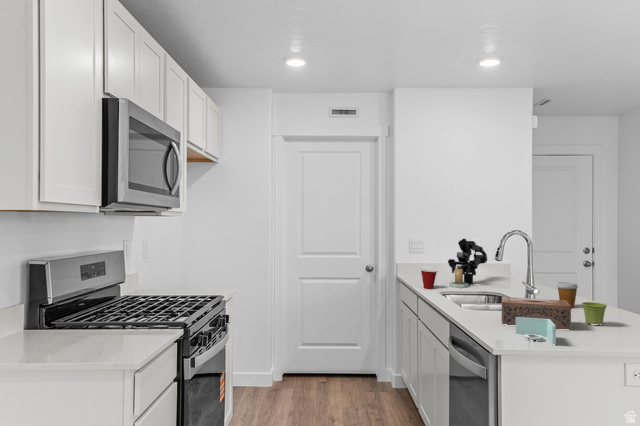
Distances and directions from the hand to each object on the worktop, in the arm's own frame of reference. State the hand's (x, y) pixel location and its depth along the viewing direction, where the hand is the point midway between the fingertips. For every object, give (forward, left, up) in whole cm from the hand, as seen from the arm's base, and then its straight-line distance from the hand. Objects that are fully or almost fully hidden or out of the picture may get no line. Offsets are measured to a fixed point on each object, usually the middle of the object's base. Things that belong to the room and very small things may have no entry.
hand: (459, 273), depth 310 cm
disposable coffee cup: (+22, +75, -9) cm, 79 cm away
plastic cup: (+23, -8, -9) cm, 26 cm away
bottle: (+1, 0, -8) cm, 8 cm away
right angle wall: (+100, +93, -9) cm, 137 cm away
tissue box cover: (+74, +81, -9) cm, 110 cm away
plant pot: (+55, +98, -9) cm, 113 cm away
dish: (+1, 0, -8) cm, 8 cm away
